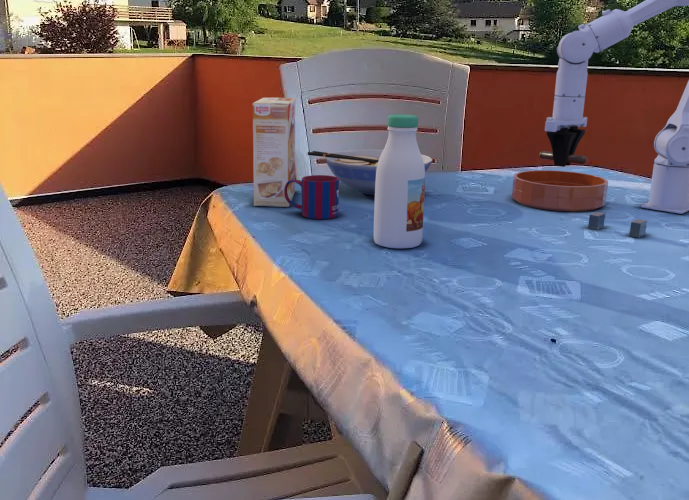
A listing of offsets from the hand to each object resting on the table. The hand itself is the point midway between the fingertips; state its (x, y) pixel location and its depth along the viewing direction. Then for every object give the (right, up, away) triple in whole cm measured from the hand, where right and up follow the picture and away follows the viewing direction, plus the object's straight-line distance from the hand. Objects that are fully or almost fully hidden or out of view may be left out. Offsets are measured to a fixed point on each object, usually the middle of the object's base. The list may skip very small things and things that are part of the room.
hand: (562, 165), depth 142 cm
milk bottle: (-35, -16, -29) cm, 49 cm away
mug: (-50, -11, -12) cm, 52 cm away
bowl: (0, -7, +2) cm, 8 cm away
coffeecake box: (-57, -7, 0) cm, 58 cm away
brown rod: (0, +1, 0) cm, 1 cm away
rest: (+3, -14, -20) cm, 24 cm away
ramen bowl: (-37, -5, +9) cm, 38 cm away
